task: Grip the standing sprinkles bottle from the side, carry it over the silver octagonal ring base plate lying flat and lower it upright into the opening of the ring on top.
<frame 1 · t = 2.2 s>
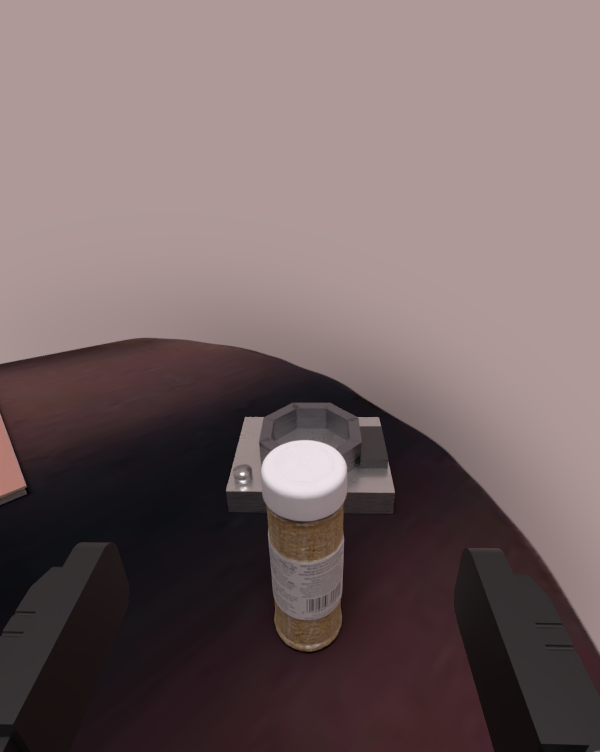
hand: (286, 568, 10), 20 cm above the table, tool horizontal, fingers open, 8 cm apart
sprinkles bottle: (307, 622, 30), on the table
octagonal ring base plate: (311, 470, 43), on the table
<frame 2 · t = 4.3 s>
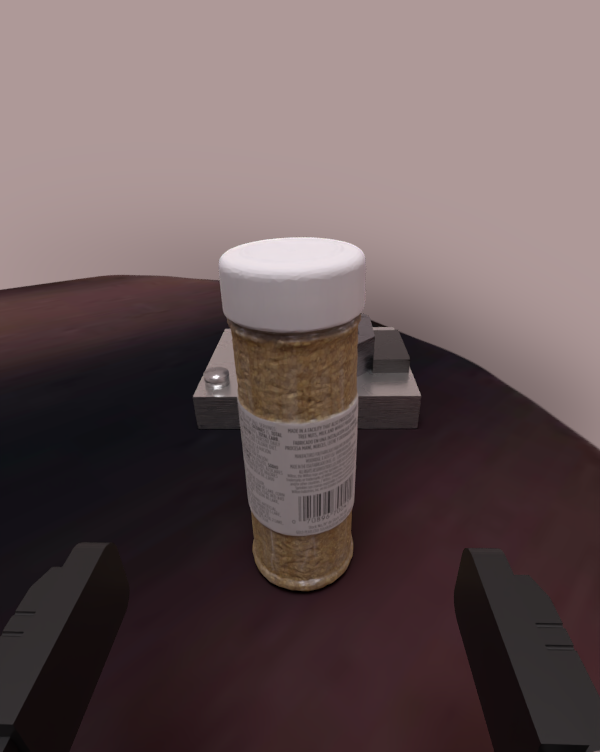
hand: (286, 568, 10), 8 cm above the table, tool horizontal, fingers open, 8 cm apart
sprinkles bottle: (302, 554, 20), on the table
octagonal ring base plate: (308, 385, 33), on the table
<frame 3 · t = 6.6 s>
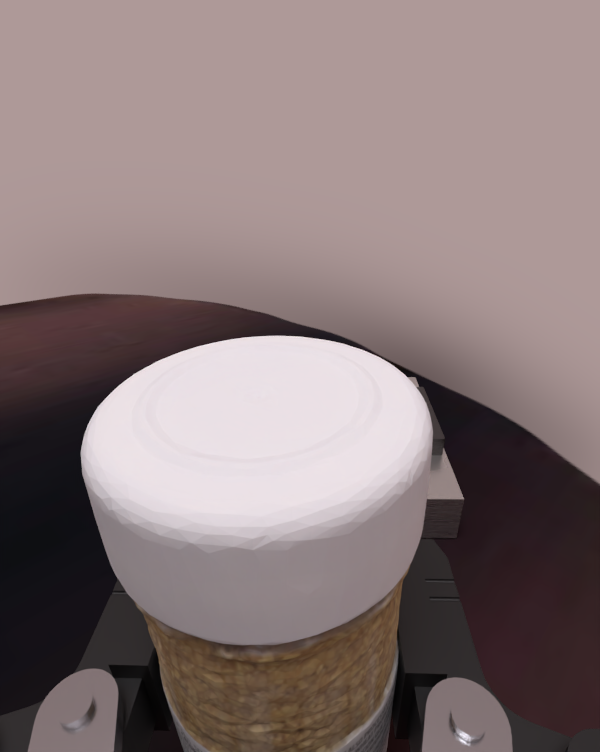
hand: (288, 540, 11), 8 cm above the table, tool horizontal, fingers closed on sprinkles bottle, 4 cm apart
octagonal ring base plate: (306, 460, 25), on the table
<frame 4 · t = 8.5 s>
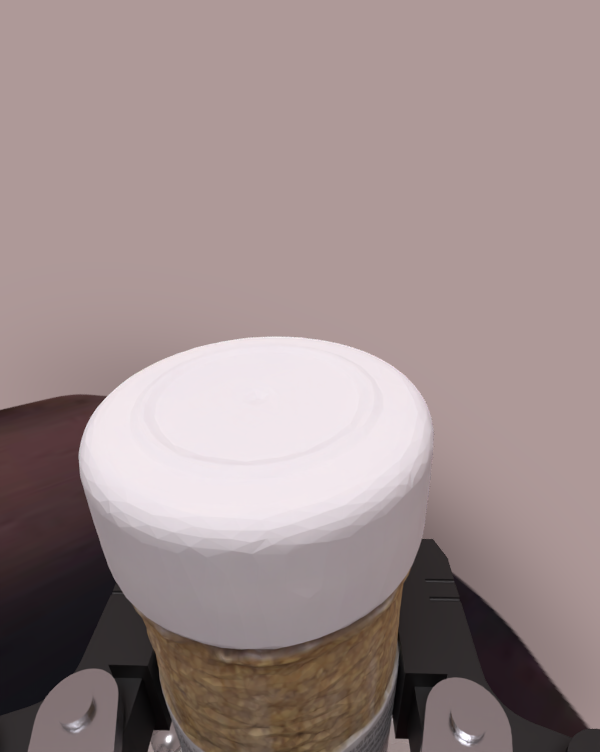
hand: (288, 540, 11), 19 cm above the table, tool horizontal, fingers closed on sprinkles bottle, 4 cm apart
octagonal ring base plate: (295, 682, 25), on the table
when the fingers open (11 cm above the table, at t = 10.8 s): sprinkles bottle drops 1 cm, resting on octagonal ring base plate.
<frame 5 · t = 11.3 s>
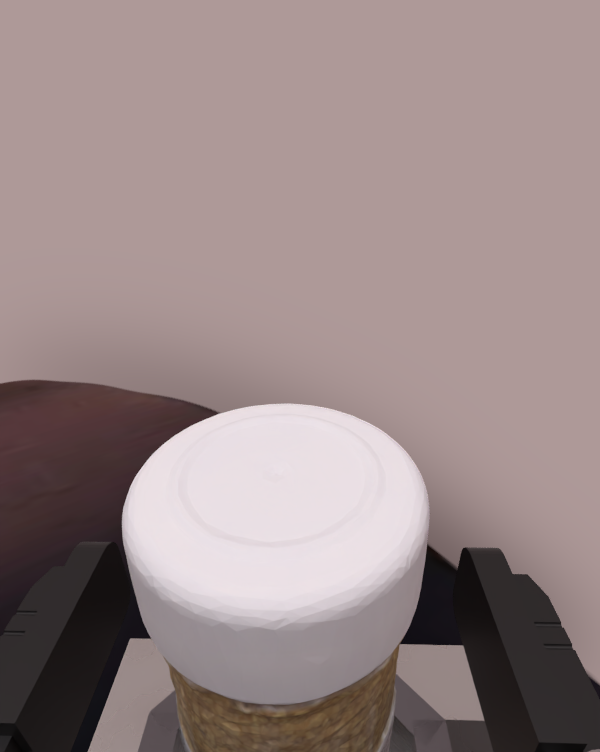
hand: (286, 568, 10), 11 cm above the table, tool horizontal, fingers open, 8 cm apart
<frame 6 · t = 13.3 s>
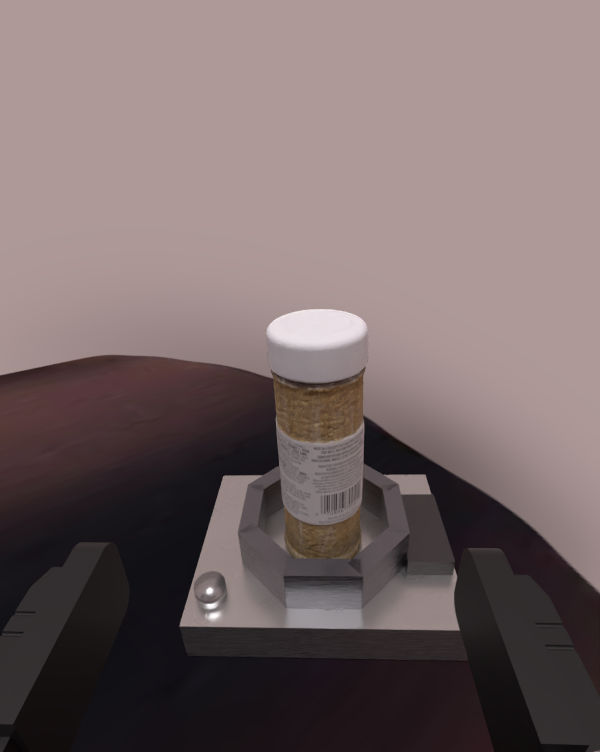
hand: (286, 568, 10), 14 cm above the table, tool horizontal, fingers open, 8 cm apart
sprinkles bottle: (322, 541, 26), point 2 cm above the table, touching octagonal ring base plate
octagonal ring base plate: (324, 565, 27), on the table
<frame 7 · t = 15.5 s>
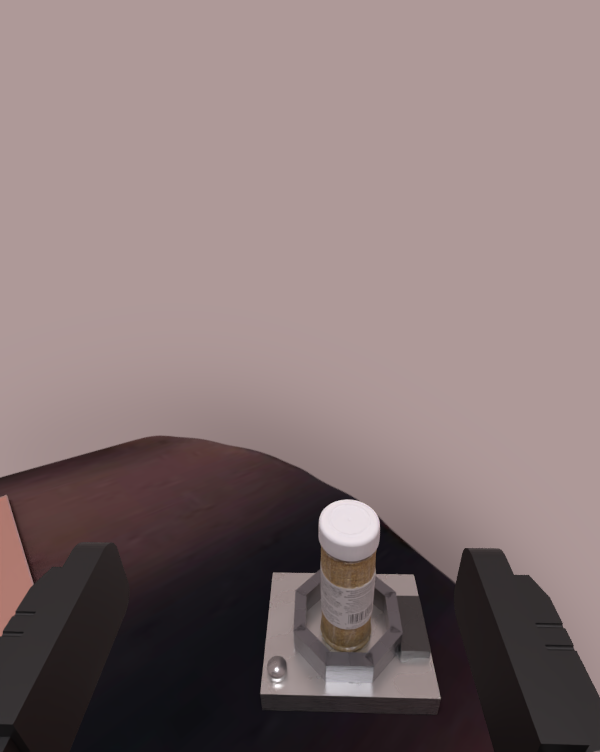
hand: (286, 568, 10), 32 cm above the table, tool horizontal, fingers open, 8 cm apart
sprinkles bottle: (345, 630, 39), point 2 cm above the table, touching octagonal ring base plate
octagonal ring base plate: (345, 643, 40), on the table
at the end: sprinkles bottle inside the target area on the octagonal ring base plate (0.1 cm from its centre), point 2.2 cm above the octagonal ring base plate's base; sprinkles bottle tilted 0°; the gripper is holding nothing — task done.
